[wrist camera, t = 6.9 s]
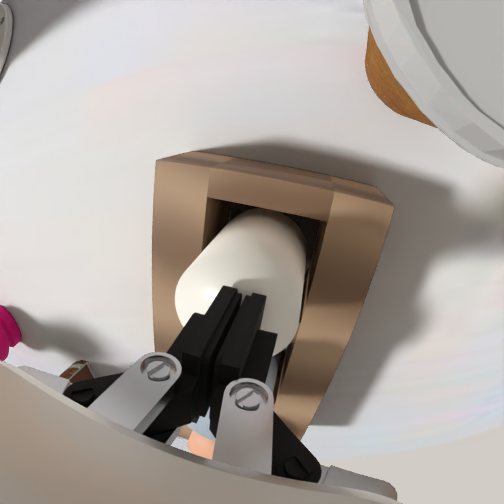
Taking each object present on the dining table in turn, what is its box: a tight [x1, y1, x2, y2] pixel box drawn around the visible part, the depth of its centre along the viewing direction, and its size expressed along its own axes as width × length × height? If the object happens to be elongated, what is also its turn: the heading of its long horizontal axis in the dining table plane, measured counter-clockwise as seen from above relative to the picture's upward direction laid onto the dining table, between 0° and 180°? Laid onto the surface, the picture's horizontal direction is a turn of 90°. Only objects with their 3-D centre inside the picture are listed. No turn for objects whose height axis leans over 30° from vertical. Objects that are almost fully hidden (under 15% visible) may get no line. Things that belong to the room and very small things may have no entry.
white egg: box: [175, 208, 307, 356], centre depth 15 cm, size 5×5×6 cm
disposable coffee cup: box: [363, 0, 504, 168], centre depth 9 cm, size 10×10×12 cm
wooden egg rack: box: [152, 151, 394, 441], centre depth 21 cm, size 24×12×5 cm, turn 171°
